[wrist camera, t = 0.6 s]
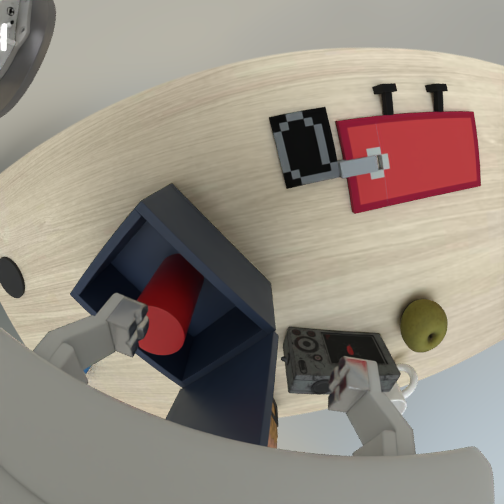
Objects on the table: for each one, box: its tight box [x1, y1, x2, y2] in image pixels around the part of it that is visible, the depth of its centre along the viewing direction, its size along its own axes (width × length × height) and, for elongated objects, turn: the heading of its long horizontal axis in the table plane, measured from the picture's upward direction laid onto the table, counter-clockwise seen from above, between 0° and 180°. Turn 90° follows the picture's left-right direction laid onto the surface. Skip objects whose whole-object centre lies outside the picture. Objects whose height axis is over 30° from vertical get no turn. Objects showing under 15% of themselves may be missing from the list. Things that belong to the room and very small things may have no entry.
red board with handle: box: [269, 83, 481, 214], centre depth 29 cm, size 30×3×15 cm
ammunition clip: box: [268, 398, 278, 449], centre depth 40 cm, size 11×2×12 cm, turn 18°
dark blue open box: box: [70, 183, 276, 388], centre depth 32 cm, size 18×15×10 cm
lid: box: [166, 331, 278, 447], centre depth 21 cm, size 19×15×5 cm
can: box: [137, 254, 204, 355], centre depth 30 cm, size 6×6×12 cm
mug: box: [382, 364, 418, 415], centre depth 39 cm, size 12×8×10 cm
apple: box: [400, 299, 447, 352], centre depth 36 cm, size 8×8×7 cm
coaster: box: [0, 257, 25, 298], centre depth 37 cm, size 8×8×1 cm
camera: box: [281, 327, 401, 394], centre depth 36 cm, size 16×4×10 cm, turn 81°
